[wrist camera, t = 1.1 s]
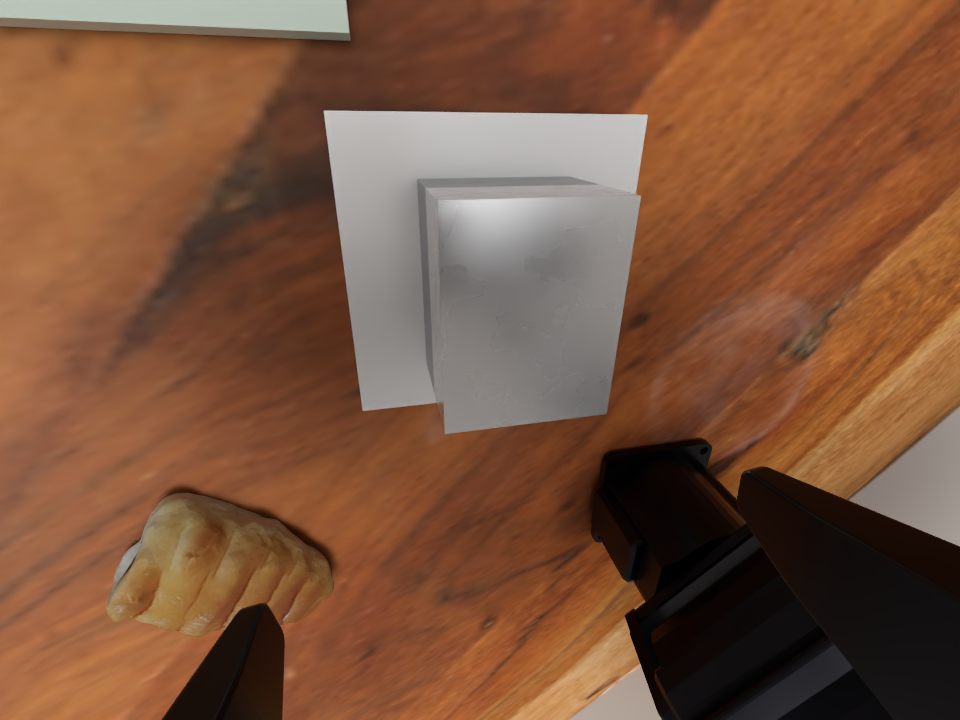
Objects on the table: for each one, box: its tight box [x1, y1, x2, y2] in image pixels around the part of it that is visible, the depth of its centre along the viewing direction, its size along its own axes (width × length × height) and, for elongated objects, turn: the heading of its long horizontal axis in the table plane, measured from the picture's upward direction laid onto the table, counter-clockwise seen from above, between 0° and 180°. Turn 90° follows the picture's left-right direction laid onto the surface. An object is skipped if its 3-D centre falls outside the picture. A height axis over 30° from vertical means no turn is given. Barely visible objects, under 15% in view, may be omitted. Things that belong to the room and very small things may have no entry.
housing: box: [417, 176, 641, 434], centre depth 16 cm, size 6×7×5 cm
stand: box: [324, 111, 648, 411], centre depth 18 cm, size 11×11×2 cm
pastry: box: [106, 493, 334, 636], centre depth 22 cm, size 9×7×4 cm
